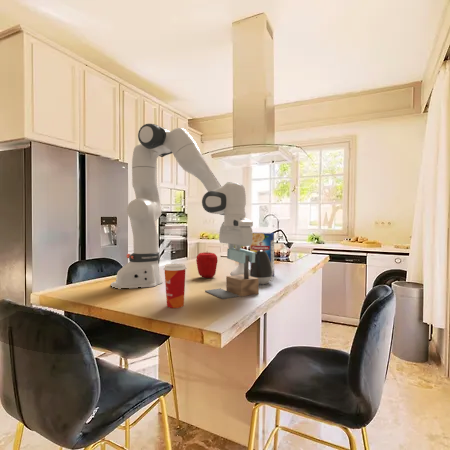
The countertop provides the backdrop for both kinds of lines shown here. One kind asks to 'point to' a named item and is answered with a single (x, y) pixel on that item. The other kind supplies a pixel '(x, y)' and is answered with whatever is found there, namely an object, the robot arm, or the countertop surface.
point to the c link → (240, 255)
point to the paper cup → (175, 284)
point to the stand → (243, 282)
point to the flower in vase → (238, 268)
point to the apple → (206, 264)
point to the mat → (221, 293)
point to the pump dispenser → (261, 267)
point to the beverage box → (264, 245)
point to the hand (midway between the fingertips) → (234, 255)
